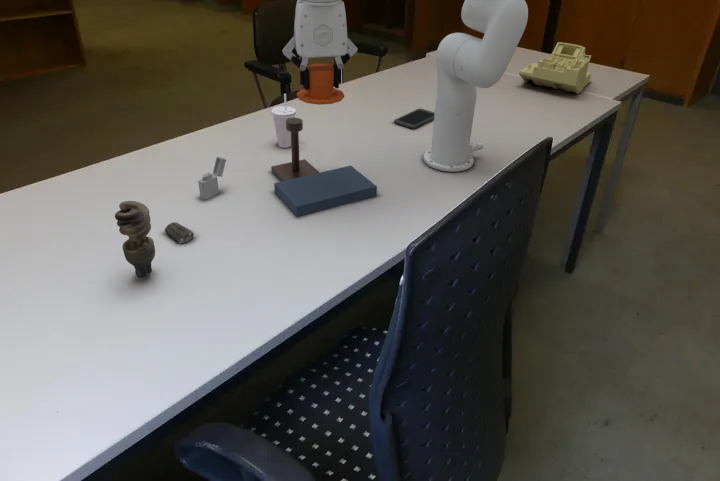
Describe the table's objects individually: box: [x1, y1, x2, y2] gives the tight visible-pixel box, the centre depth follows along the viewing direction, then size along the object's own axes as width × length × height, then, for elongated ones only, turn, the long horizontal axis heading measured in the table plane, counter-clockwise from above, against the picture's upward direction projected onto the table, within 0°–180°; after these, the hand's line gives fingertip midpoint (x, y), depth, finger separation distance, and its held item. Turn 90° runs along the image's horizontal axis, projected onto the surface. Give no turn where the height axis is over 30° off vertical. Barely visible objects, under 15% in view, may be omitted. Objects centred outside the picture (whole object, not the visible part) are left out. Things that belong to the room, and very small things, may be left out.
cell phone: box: [393, 107, 435, 130], centre depth 172 cm, size 7×14×1 cm, turn 141°
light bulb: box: [114, 200, 156, 279], centre depth 101 cm, size 6×6×15 cm
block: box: [164, 221, 194, 244], centre depth 116 cm, size 4×6×2 cm, turn 52°
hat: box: [296, 63, 345, 106], centre depth 119 cm, size 10×10×6 cm
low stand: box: [273, 165, 378, 217], centre depth 132 cm, size 20×12×2 cm, turn 120°
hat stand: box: [270, 117, 321, 182], centre depth 136 cm, size 9×9×14 cm
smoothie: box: [271, 93, 297, 149], centre depth 151 cm, size 6×6×14 cm
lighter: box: [197, 156, 227, 201], centre depth 129 cm, size 7×2×8 cm, turn 142°
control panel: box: [518, 41, 593, 95], centre depth 199 cm, size 24×16×20 cm
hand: (320, 86), depth 120 cm, fingers closed on hat, 5 cm apart
